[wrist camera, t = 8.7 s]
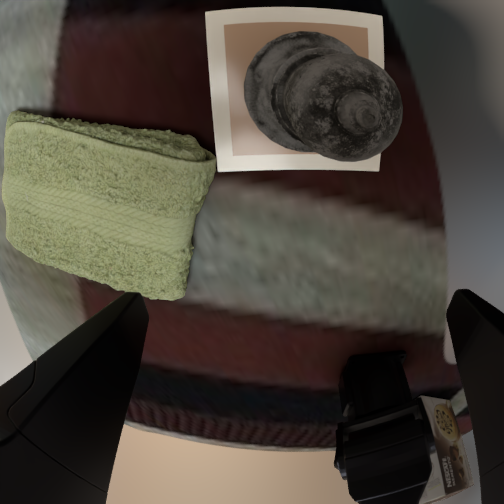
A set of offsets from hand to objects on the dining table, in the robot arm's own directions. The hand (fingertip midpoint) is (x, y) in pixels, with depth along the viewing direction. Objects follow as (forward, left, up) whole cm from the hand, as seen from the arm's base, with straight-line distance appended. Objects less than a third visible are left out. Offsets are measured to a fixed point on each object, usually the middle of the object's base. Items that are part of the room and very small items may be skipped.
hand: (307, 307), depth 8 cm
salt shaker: (-1, -5, -12) cm, 13 cm away
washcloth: (+14, +2, -13) cm, 19 cm away
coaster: (-1, -5, -13) cm, 14 cm away
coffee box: (-22, +35, -13) cm, 43 cm away
